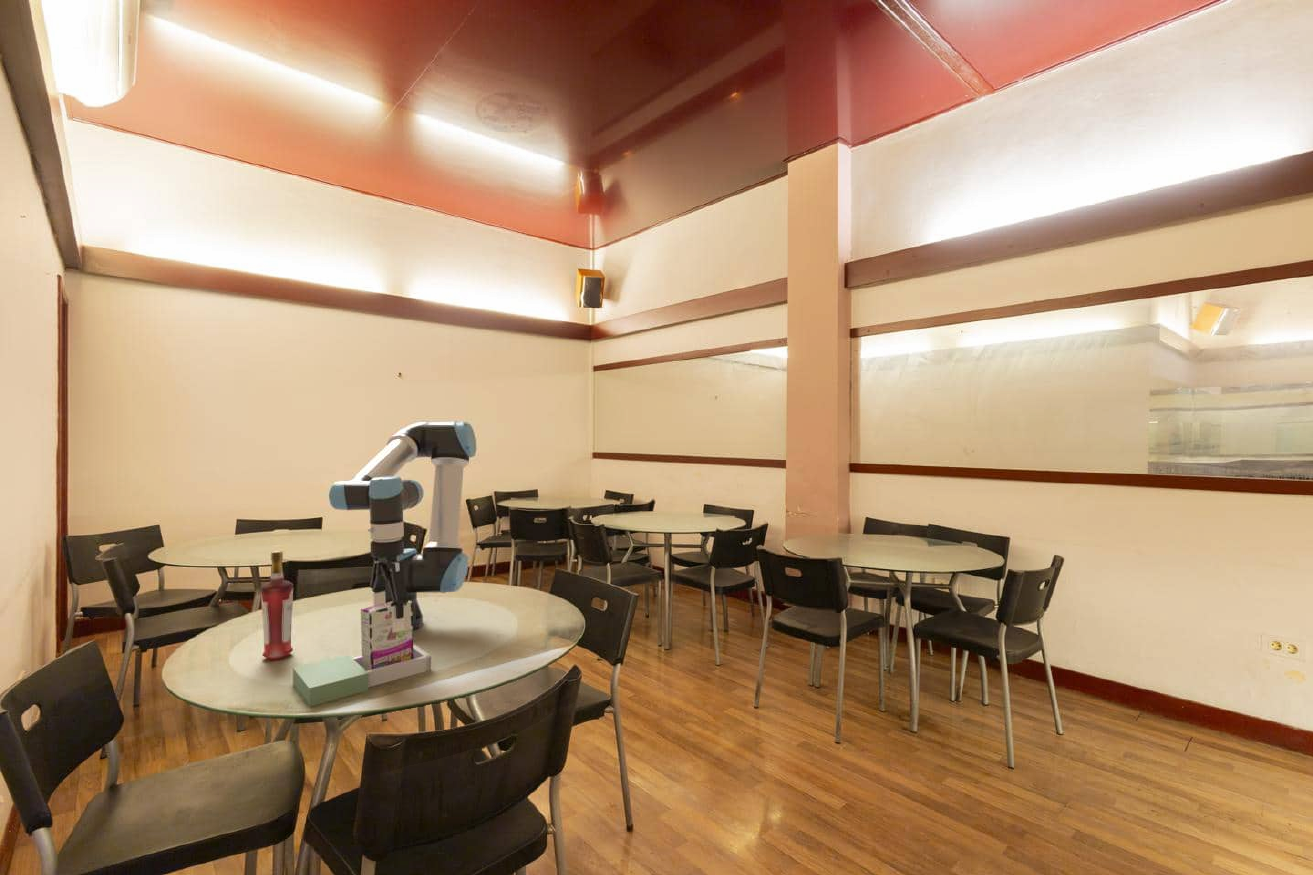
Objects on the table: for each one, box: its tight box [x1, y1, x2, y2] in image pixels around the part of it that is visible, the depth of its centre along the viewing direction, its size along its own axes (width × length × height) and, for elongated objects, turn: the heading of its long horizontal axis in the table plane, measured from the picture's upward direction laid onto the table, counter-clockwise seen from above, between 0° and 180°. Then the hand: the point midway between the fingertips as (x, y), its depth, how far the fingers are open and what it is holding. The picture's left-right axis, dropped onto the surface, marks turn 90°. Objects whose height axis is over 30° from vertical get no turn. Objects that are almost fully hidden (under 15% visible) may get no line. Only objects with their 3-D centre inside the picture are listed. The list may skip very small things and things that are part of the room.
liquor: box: [260, 550, 294, 661], centre depth 157 cm, size 7×7×28 cm
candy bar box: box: [360, 600, 414, 671], centre depth 147 cm, size 11×5×16 cm, turn 144°
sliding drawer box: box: [292, 643, 432, 708], centre depth 143 cm, size 16×27×4 cm, turn 133°
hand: (388, 624), depth 147 cm, fingers open, 13 cm apart
